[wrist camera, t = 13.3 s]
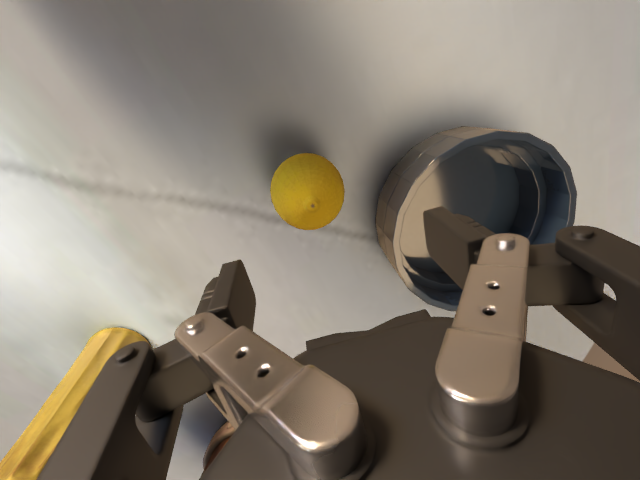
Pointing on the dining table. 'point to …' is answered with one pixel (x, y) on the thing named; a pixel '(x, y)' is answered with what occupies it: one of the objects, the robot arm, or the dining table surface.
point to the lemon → (307, 191)
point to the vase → (62, 406)
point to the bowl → (471, 198)
